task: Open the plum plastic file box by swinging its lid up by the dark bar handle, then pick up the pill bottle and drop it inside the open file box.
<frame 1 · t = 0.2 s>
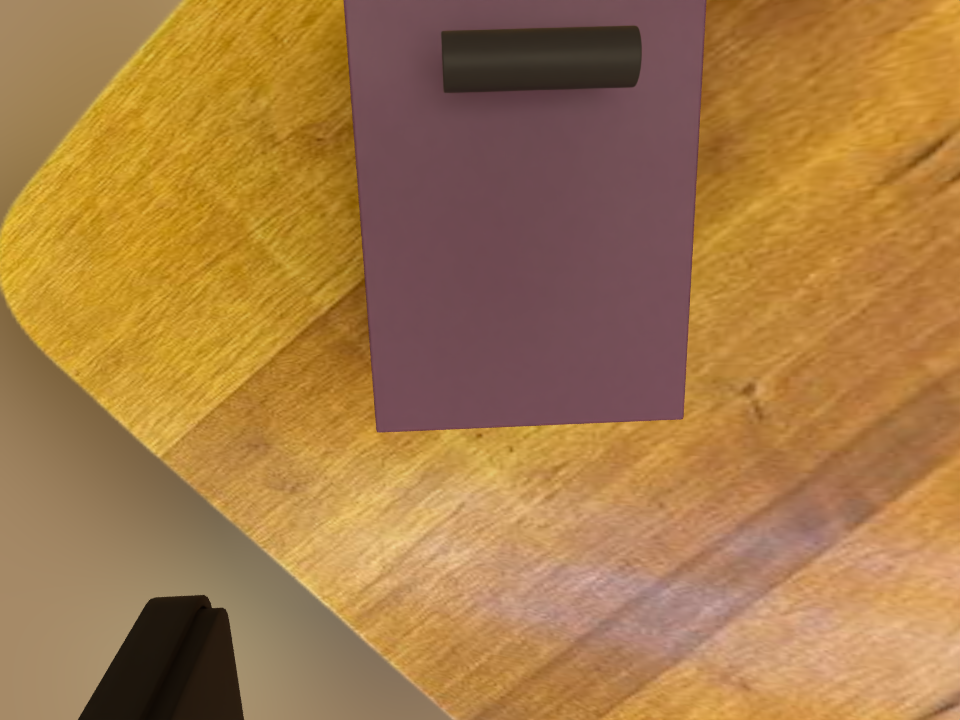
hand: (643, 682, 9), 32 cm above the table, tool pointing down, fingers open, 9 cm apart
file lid: (534, 233, 28), point 11 cm above the table, hinge at 0.0°
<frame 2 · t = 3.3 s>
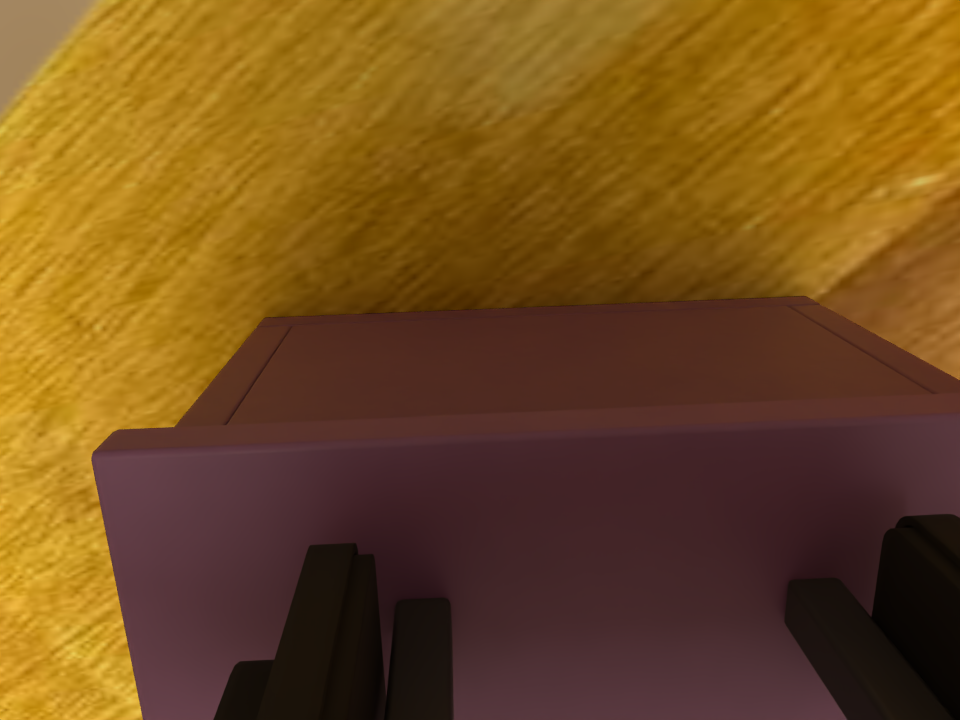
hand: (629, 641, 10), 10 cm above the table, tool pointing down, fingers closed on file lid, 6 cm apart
file box: (540, 596, 21), on the table
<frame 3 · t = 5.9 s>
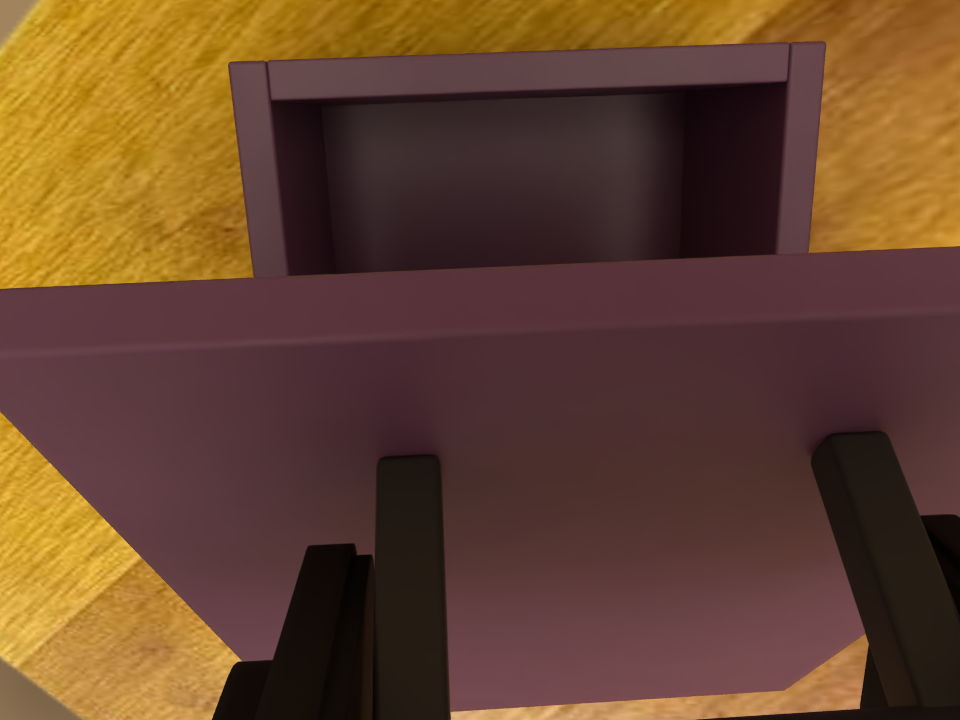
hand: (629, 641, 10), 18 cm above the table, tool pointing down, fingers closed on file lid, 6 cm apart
file box: (508, 318, 27), on the table
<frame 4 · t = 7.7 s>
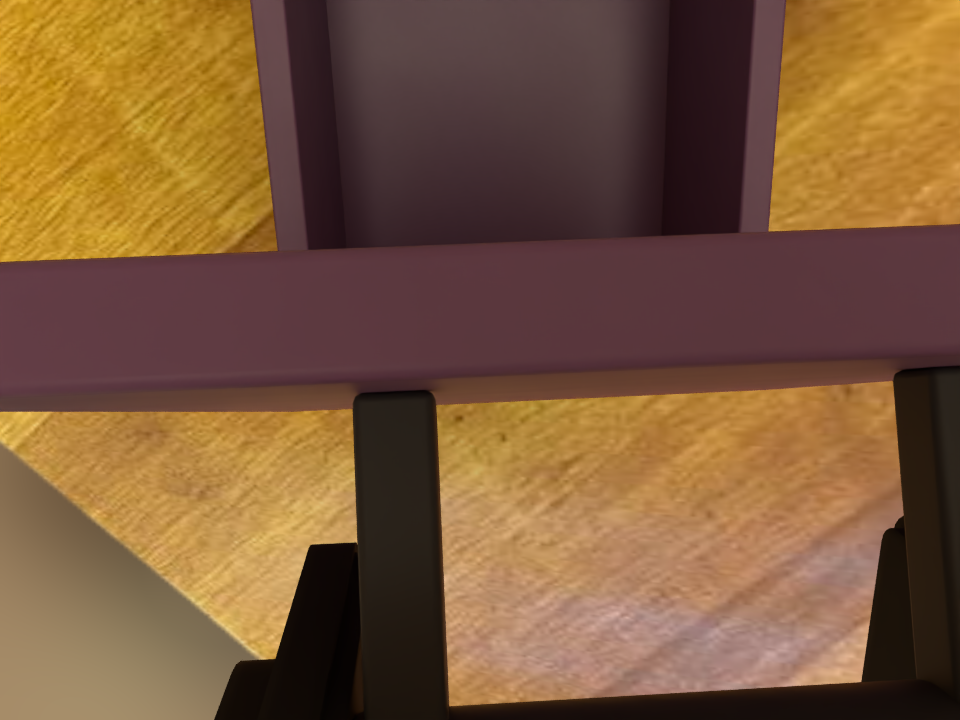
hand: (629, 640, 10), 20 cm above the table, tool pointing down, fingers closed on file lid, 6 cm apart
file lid: (584, 512, 13), point 17 cm above the table, hinge at 68.8°, touching gripper
file box: (499, 82, 27), on the table
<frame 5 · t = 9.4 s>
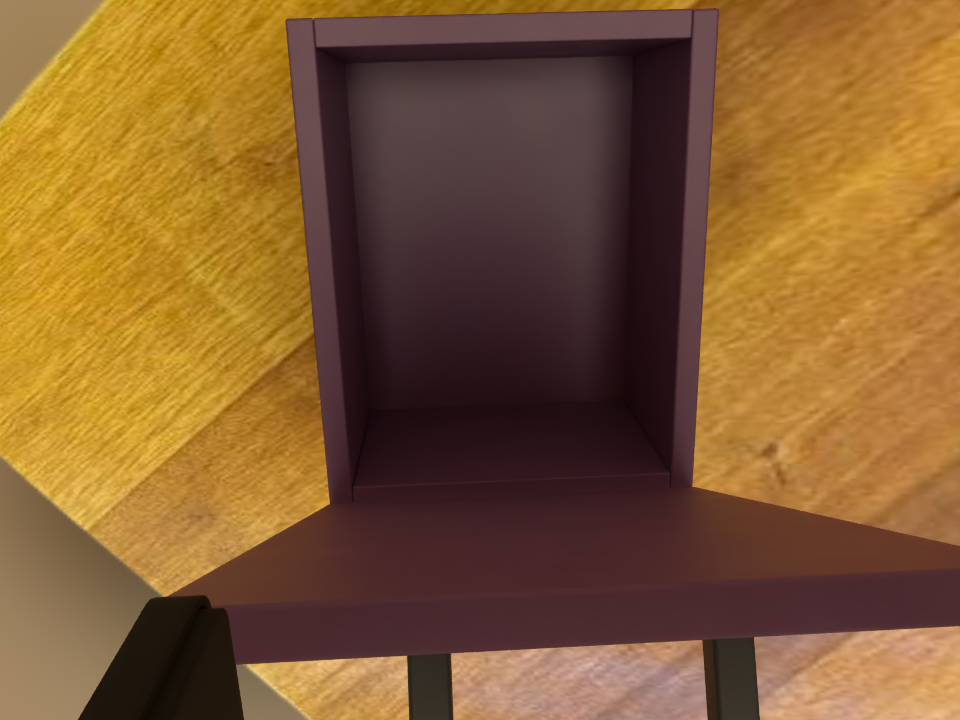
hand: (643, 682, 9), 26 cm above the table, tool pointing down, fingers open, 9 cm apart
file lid: (544, 637, 19), point 17 cm above the table, hinge at 67.6°
file box: (492, 239, 33), on the table
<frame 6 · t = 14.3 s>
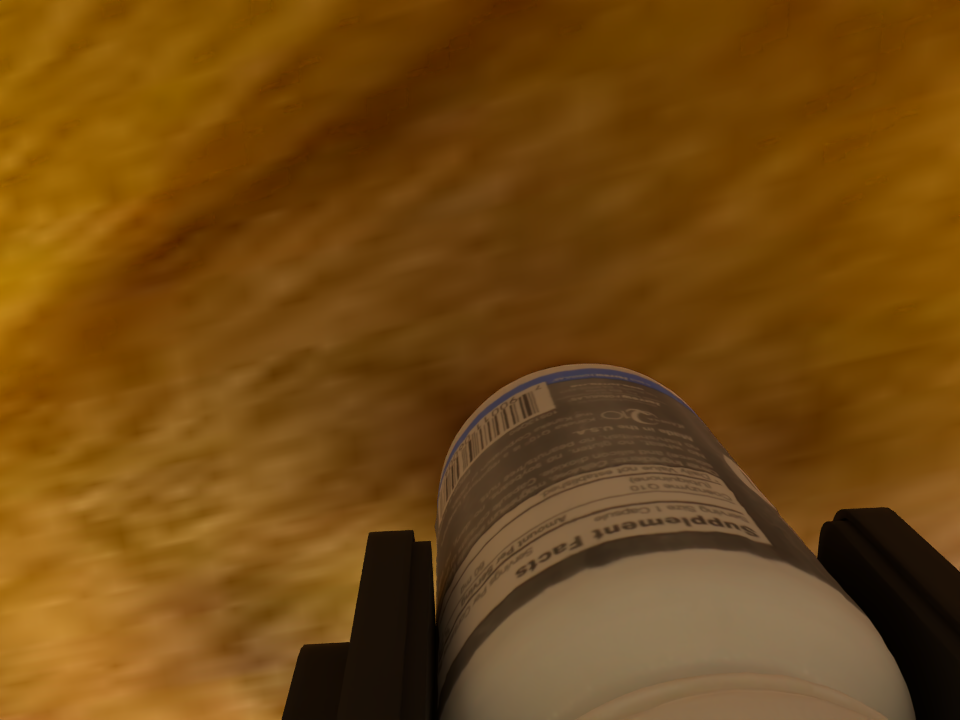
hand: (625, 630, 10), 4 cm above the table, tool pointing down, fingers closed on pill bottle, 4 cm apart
pill bottle: (574, 483, 14), on the table, touching gripper
when the fingers open (9 cm above the table, at t = 22.1 s): pill bottle drops 5 cm, resting on file box.
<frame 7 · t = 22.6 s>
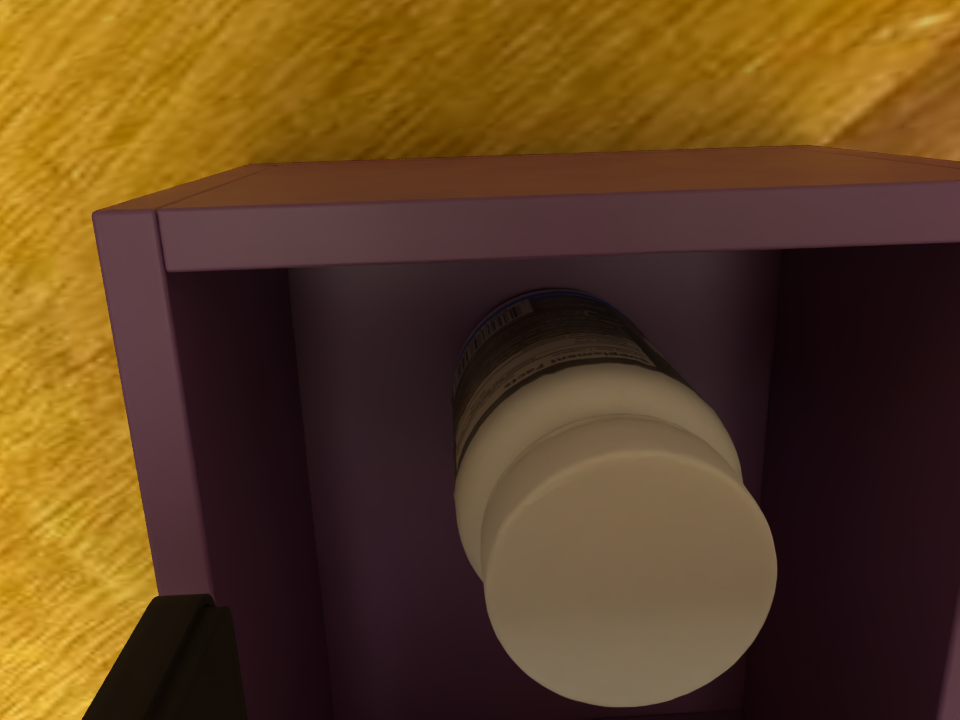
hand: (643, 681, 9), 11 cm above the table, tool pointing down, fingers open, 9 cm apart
file box: (535, 471, 20), on the table
pill bottle: (550, 380, 19), point 1 cm above the table, touching file box
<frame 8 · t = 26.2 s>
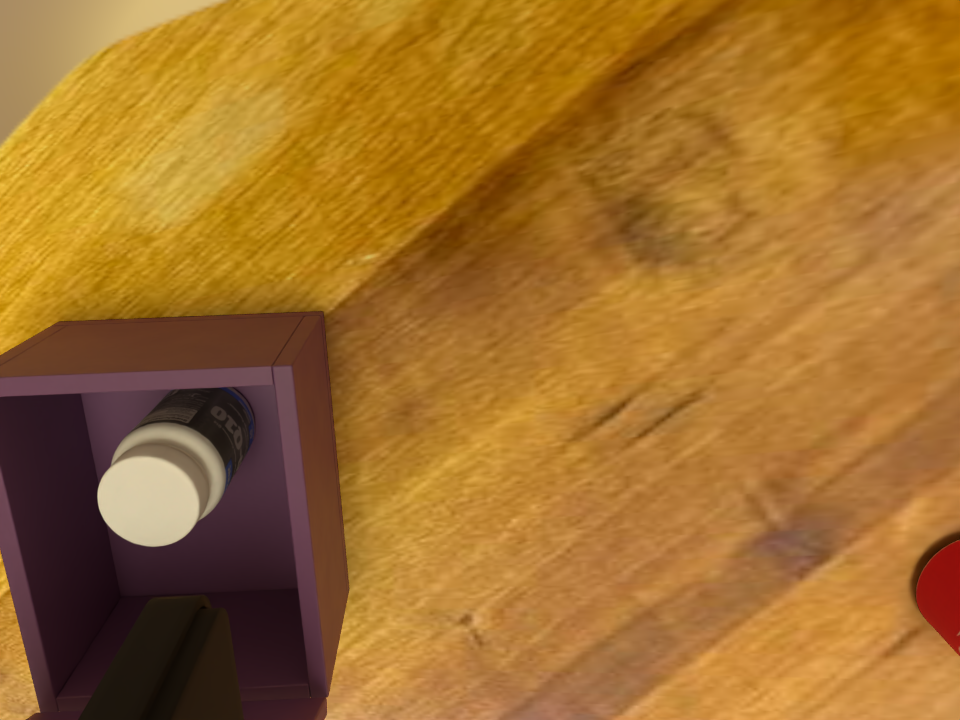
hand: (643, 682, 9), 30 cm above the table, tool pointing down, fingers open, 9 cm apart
file box: (213, 464, 41), on the table
pill bottle: (209, 420, 39), point 1 cm above the table, touching file box
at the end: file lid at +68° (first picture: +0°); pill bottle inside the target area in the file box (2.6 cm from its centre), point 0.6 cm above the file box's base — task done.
